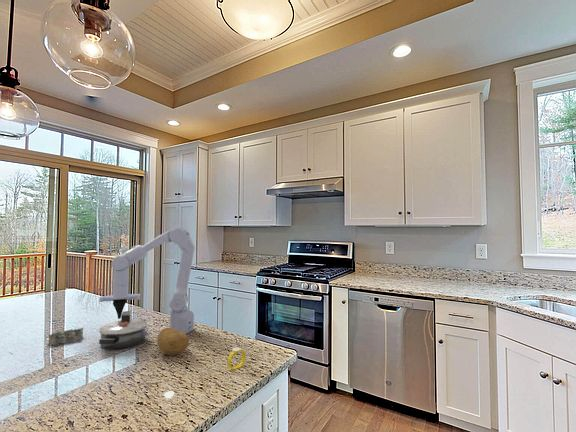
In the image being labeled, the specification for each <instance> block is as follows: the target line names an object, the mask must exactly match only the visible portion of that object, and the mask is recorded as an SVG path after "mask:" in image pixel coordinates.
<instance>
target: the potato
mask: <svg viewBox="0 0 576 432" xmlns="http://www.w3.org/2000/svg"><path fill="white" fill-rule="evenodd" d="M156 339H157V341H156V343H157V346H158V349H159V351H160V352H162V353H164V354H165V355H168V356H172V355H173V356H175V355H178V356H179V355H180V354H182V353H184V352H185V351H186V350H187V349H188V348H189V344H190V341H189V337H188V336H187V334H185V333H183V332H182V331H179V330H177V329H174V328H170V327H165V328H162V329H161V330H160V331H159V333H158V334H157V338H156Z"/></svg>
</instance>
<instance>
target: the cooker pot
mask: <svg viewBox="0 0 576 432" xmlns="http://www.w3.org/2000/svg"><path fill="white" fill-rule="evenodd" d="M143 320H144V321H146V322H147V320H146V319H143ZM98 340H99V341H98V342H99V343H98V344H99V345H100V348H101V349H102V350H106V351H120V349H121V350H126V348H127V349H130V348H133V347H136V346H139V345H142V344H143V343H145V340H146V328H144V329H143V330H141V331H138V332H135V333H131V334H125V335H117V336H108V335H102V334H100V339H98Z"/></svg>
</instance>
